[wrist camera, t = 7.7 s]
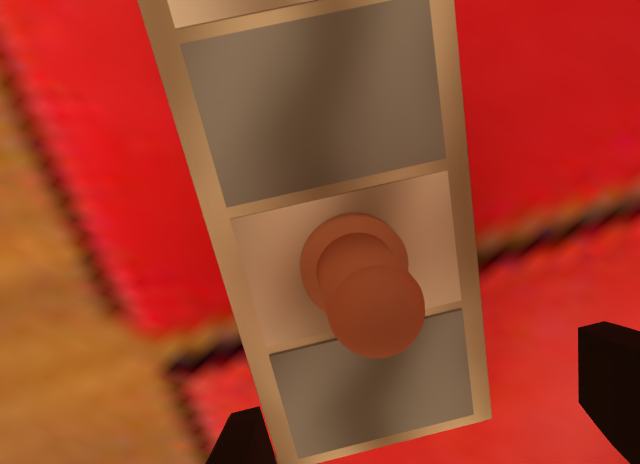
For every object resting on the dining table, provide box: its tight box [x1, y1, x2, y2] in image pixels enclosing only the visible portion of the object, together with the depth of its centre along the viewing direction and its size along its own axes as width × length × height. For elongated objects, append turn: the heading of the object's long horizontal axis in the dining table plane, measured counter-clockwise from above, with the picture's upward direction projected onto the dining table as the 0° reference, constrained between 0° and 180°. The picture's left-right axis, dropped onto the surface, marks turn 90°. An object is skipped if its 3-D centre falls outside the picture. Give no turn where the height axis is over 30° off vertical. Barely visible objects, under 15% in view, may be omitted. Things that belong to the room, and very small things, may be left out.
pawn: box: [300, 213, 425, 358], centre depth 14 cm, size 4×4×6 cm
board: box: [137, 0, 492, 464], centre depth 17 cm, size 11×27×1 cm, turn 12°
